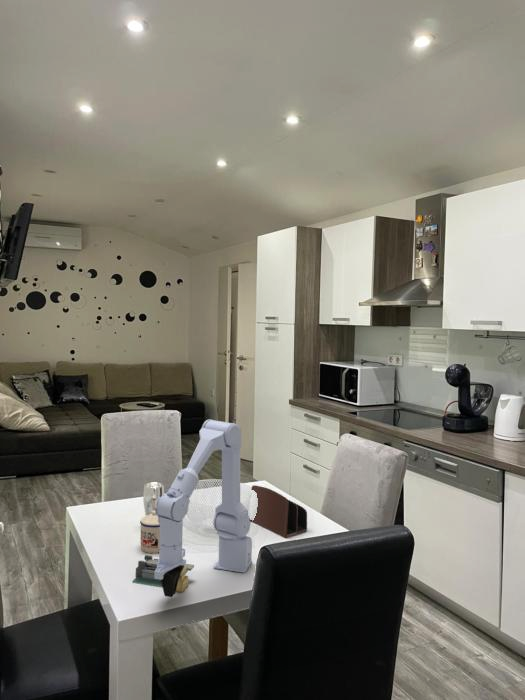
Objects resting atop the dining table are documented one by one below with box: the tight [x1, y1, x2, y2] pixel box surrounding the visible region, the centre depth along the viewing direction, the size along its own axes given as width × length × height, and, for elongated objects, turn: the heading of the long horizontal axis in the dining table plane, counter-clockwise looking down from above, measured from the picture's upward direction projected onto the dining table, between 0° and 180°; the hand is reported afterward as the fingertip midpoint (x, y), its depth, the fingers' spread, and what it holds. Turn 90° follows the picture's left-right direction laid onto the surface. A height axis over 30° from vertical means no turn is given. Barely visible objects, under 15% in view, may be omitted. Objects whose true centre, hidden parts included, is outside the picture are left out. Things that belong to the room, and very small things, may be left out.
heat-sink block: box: [132, 558, 188, 588], centre depth 155 cm, size 12×11×3 cm
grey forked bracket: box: [135, 554, 153, 578], centre depth 156 cm, size 3×5×4 cm, turn 165°
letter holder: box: [251, 485, 308, 539], centre depth 195 cm, size 10×20×14 cm, turn 39°
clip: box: [176, 567, 189, 593], centre depth 148 cm, size 3×5×5 cm, turn 165°
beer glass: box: [142, 481, 165, 516], centre depth 190 cm, size 7×7×15 cm
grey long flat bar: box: [143, 558, 195, 572], centre depth 154 cm, size 15×2×1 cm, turn 75°
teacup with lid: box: [139, 510, 160, 554], centre depth 173 cm, size 12×9×12 cm
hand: (169, 594), depth 142 cm, fingers closed
